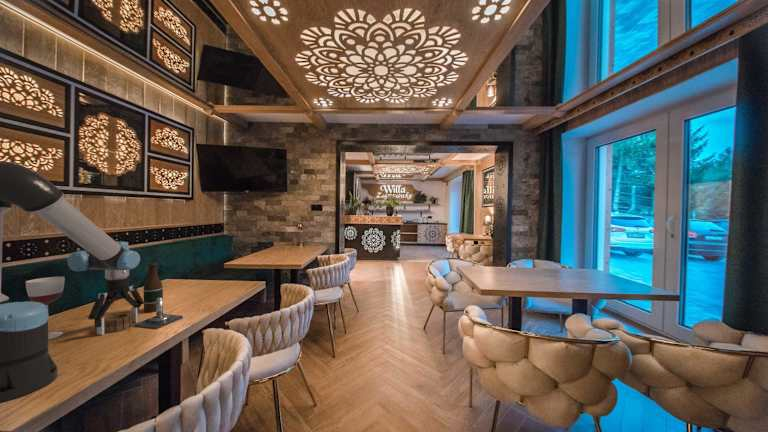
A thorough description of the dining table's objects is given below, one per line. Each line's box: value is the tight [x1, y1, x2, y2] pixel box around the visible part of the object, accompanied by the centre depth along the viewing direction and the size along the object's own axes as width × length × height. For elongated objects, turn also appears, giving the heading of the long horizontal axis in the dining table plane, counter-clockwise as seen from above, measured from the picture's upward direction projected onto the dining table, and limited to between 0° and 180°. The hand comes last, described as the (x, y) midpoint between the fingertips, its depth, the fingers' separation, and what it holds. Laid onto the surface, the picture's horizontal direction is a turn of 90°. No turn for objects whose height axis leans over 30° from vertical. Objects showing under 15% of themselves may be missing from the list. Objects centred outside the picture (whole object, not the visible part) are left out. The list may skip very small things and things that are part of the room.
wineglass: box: [25, 276, 66, 340], centre depth 113 cm, size 9×10×23 cm
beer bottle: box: [143, 262, 164, 314], centre depth 143 cm, size 8×8×24 cm
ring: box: [103, 312, 134, 334], centre depth 121 cm, size 9×9×5 cm
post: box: [134, 297, 184, 330], centre depth 128 cm, size 12×12×11 cm
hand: (118, 327), depth 121 cm, fingers open, 12 cm apart
